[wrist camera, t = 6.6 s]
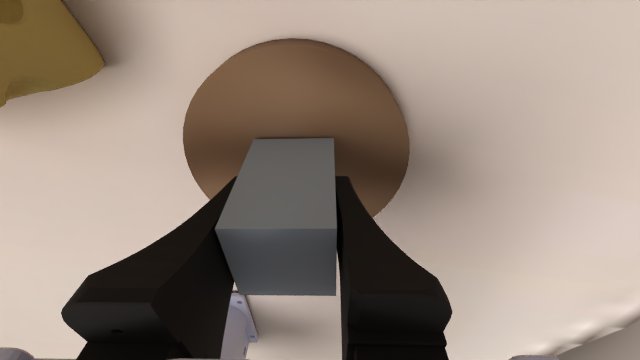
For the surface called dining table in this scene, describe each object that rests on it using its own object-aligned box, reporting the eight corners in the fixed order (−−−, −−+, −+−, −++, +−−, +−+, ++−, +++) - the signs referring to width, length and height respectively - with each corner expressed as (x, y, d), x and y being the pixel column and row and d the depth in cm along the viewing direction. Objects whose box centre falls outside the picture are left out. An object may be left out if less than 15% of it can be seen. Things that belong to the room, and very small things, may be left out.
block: (333, 198, 16) (336, 295, 11) (265, 199, 16) (239, 294, 12) (333, 137, 14) (337, 228, 9) (253, 139, 14) (214, 228, 9)
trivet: (388, 222, 20) (392, 238, 19) (221, 222, 20) (215, 238, 19) (423, 36, 13) (433, 44, 11) (161, 40, 13) (144, 47, 12)
